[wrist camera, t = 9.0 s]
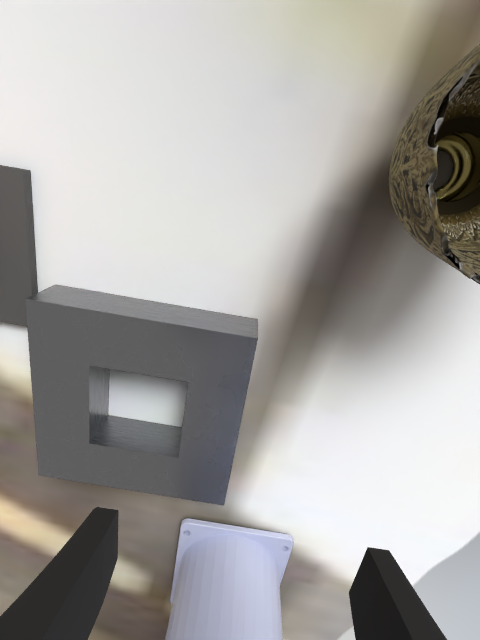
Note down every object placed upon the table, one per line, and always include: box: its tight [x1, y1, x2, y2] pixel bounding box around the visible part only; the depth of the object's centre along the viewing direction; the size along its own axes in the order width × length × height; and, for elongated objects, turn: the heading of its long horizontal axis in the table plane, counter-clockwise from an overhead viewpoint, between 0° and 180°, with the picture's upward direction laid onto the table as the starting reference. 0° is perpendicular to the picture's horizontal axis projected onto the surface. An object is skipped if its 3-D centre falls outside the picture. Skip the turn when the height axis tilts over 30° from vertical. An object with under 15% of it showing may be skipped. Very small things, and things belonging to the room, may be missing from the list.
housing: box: [25, 285, 258, 505], centre depth 19 cm, size 11×11×2 cm
